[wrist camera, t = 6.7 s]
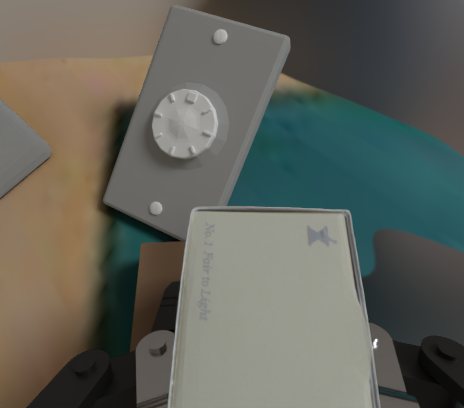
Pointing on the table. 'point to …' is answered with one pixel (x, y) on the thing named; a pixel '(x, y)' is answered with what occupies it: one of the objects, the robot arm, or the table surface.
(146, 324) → the frame
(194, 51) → the light switch
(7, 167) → the electrical switch
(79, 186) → the table surface
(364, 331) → the skincare box
